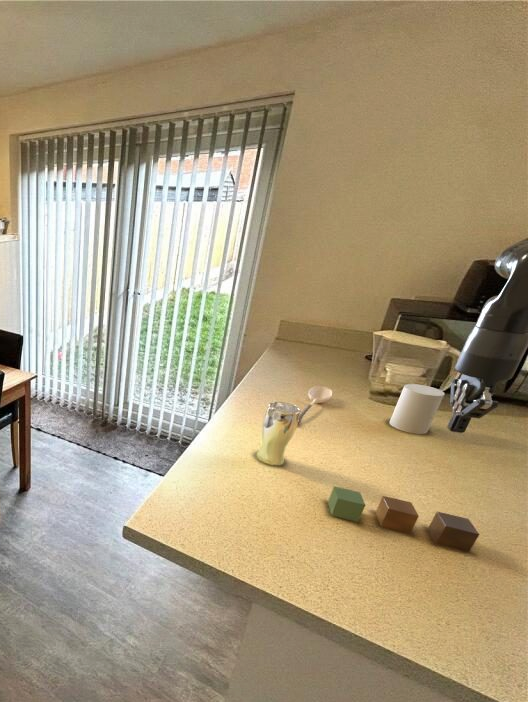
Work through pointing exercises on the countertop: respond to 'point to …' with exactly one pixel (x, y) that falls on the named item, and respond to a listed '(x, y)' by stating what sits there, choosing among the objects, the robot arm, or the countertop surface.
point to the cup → (416, 408)
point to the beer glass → (277, 431)
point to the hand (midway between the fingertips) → (455, 430)
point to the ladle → (317, 397)
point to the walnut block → (453, 531)
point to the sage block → (346, 504)
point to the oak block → (396, 514)
